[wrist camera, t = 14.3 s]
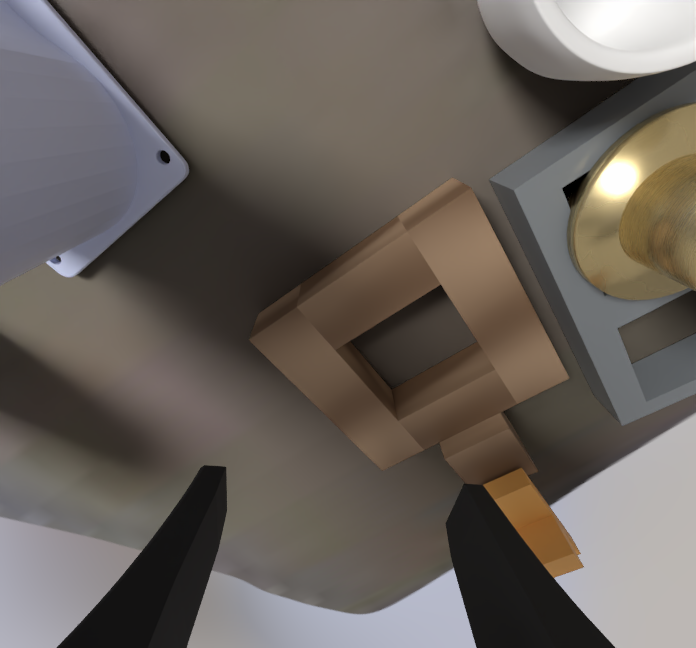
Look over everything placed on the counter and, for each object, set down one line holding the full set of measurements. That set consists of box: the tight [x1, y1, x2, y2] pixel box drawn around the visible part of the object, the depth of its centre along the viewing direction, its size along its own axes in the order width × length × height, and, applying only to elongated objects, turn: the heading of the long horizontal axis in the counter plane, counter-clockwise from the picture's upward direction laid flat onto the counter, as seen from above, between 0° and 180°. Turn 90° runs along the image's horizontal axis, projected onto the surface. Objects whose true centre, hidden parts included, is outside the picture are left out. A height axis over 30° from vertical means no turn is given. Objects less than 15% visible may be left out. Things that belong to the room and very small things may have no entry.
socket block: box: [249, 178, 569, 485], centre depth 19 cm, size 15×11×4 cm
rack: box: [489, 61, 696, 426], centre depth 17 cm, size 15×8×2 cm, turn 36°
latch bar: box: [483, 468, 584, 578], centre depth 20 cm, size 8×2×3 cm, turn 36°
